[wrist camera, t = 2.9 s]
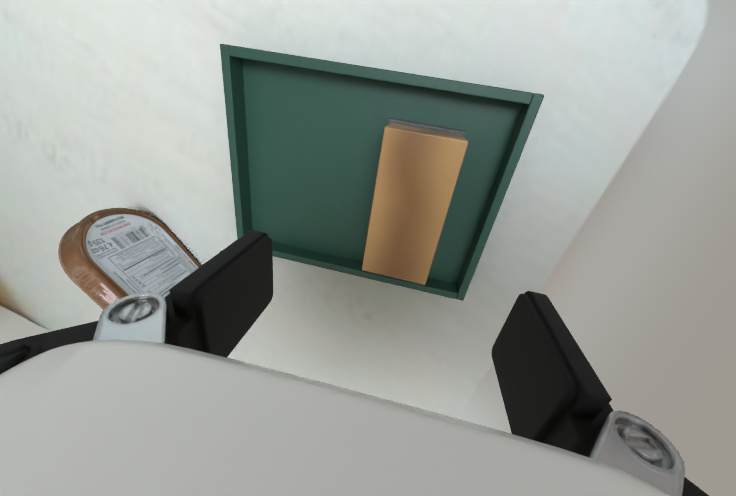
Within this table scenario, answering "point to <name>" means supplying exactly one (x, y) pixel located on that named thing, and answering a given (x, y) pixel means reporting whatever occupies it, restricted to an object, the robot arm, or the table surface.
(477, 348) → the table surface
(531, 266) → the table surface
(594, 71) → the table surface
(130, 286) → the tin
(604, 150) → the table surface
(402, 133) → the eraser
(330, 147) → the tray
